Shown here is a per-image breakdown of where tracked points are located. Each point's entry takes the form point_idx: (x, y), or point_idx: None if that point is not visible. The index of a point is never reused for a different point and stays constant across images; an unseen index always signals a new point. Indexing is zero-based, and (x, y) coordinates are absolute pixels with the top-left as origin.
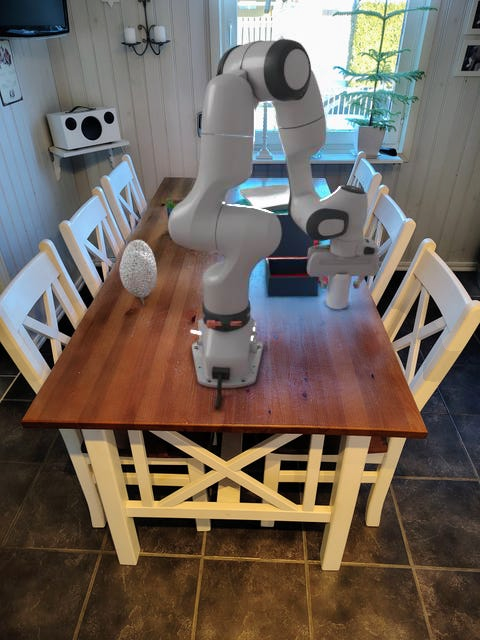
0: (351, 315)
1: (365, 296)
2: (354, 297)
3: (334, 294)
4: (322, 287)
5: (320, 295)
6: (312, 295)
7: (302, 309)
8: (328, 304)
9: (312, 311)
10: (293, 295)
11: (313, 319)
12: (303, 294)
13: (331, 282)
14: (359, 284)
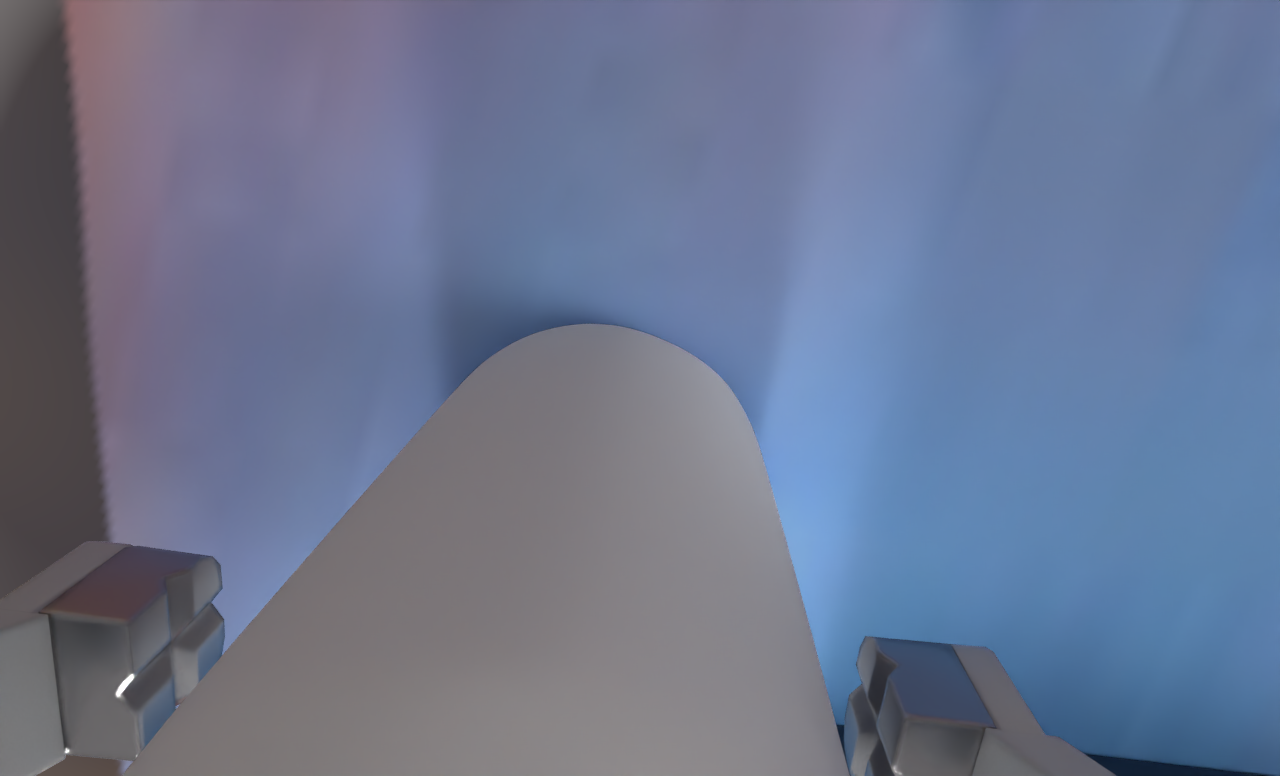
0: (442, 144)
1: None
2: None
3: (710, 455)
4: (991, 666)
5: None
6: None
7: (1166, 421)
8: (754, 436)
9: (1032, 345)
10: (1158, 771)
11: (1113, 106)
12: None
13: (830, 717)
14: (5, 597)
